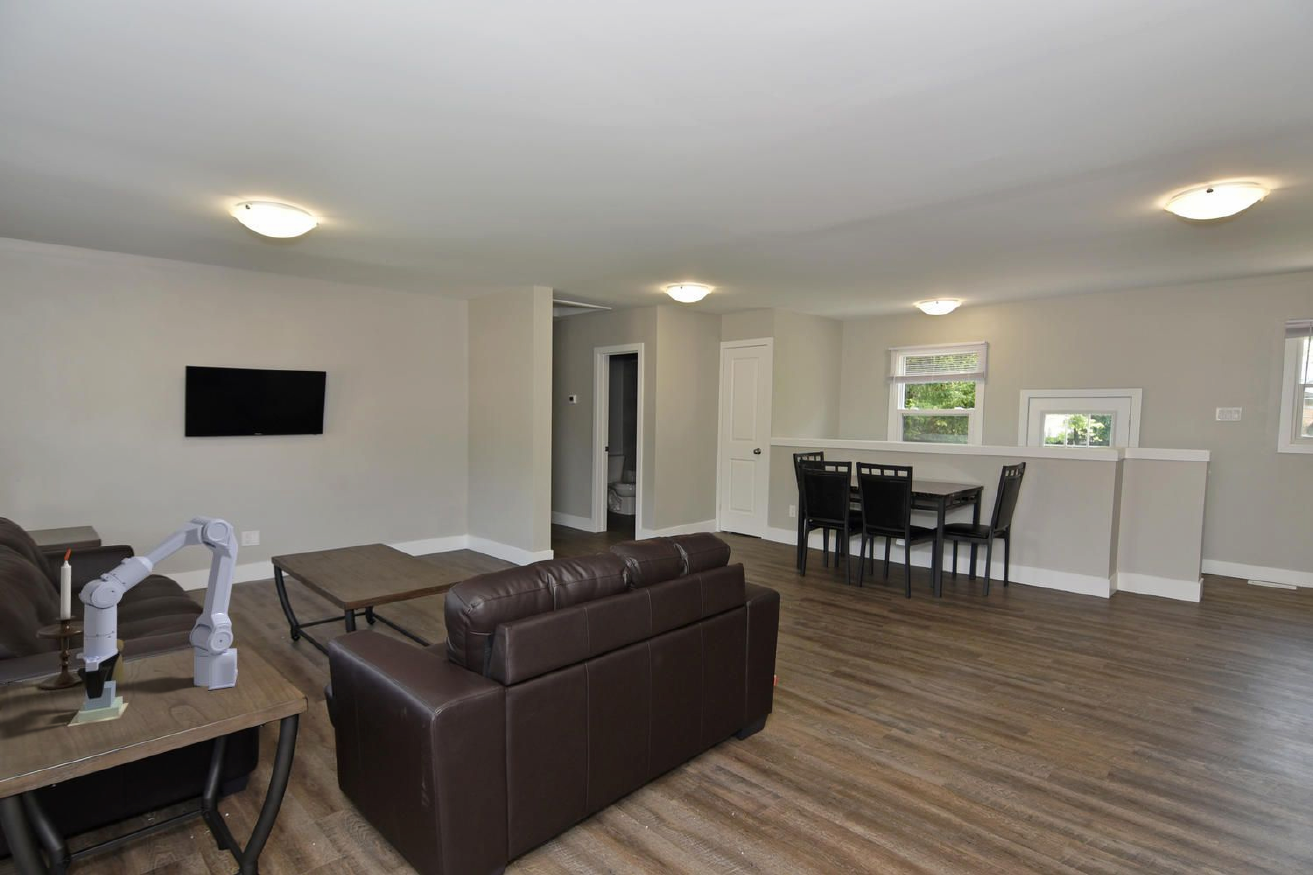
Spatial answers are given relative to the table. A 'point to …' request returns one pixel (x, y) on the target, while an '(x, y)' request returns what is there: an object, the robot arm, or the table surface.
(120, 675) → the olive tall rounded piece
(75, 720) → the birch slab
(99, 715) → the green block
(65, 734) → the table surface
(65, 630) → the candlestick
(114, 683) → the blue cube
